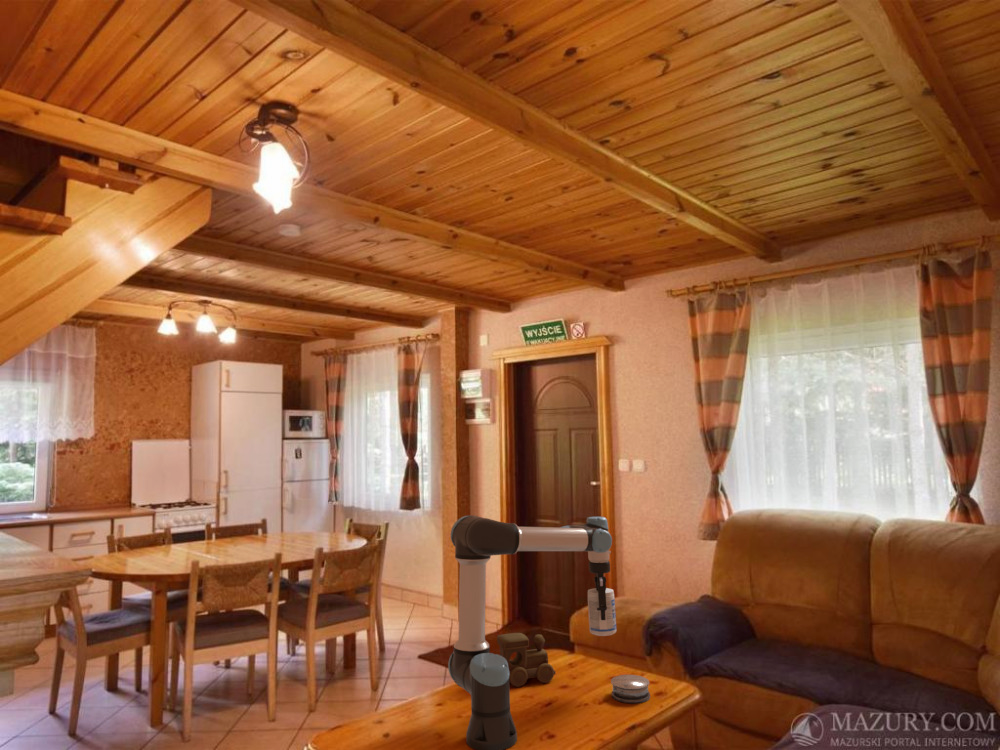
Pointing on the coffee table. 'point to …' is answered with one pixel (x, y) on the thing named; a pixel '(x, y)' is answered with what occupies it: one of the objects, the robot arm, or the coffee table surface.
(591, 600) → the supplement tub
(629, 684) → the duct stub
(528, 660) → the wooden toy train
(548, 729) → the coffee table surface
